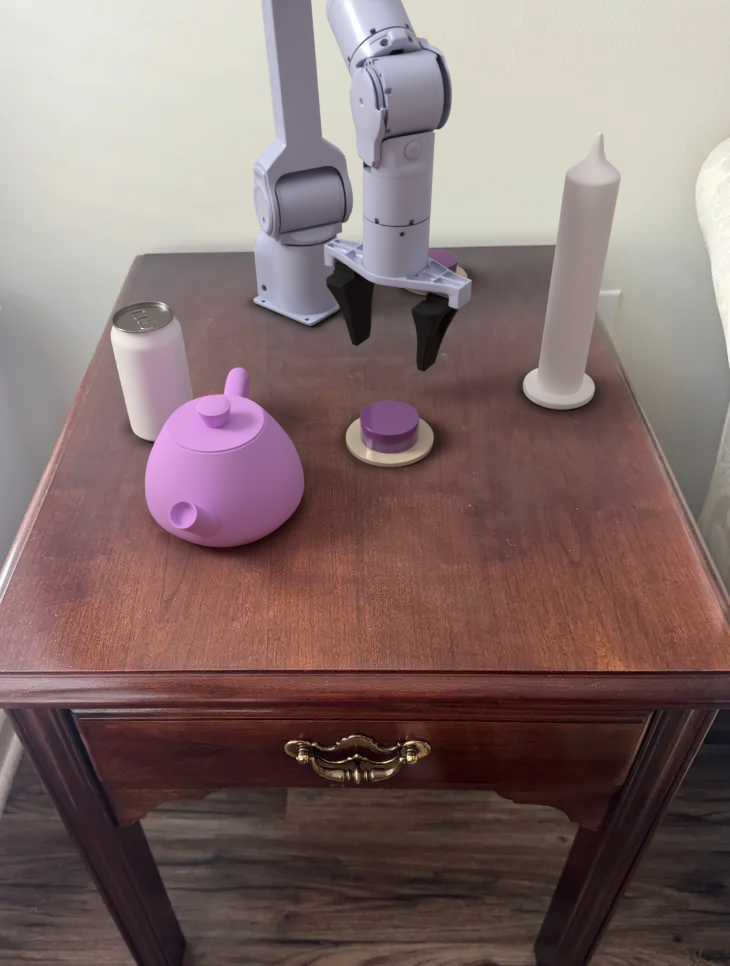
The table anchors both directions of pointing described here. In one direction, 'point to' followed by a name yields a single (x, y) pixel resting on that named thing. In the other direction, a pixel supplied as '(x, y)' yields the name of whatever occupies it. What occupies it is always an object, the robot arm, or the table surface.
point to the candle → (575, 283)
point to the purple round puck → (444, 258)
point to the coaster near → (389, 459)
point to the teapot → (223, 470)
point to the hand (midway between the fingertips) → (392, 353)
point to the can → (150, 364)
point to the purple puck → (389, 426)
